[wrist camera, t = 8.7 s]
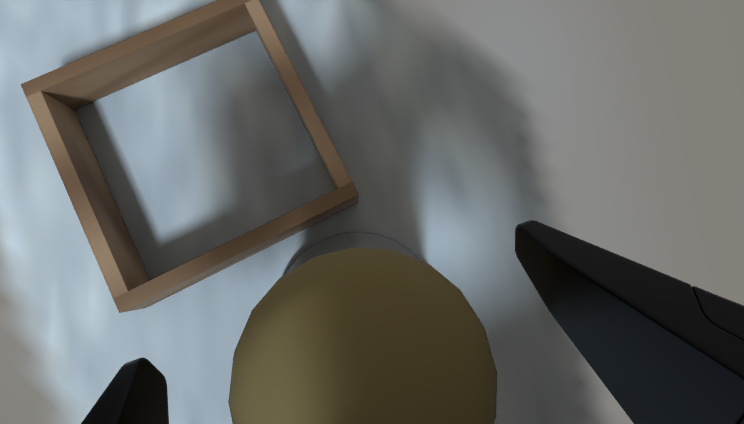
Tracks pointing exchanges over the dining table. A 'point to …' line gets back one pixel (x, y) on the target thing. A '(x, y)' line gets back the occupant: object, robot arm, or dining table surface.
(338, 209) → the frame
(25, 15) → the dining table surface
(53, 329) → the dining table surface
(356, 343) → the cork
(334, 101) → the dining table surface
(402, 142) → the dining table surface
